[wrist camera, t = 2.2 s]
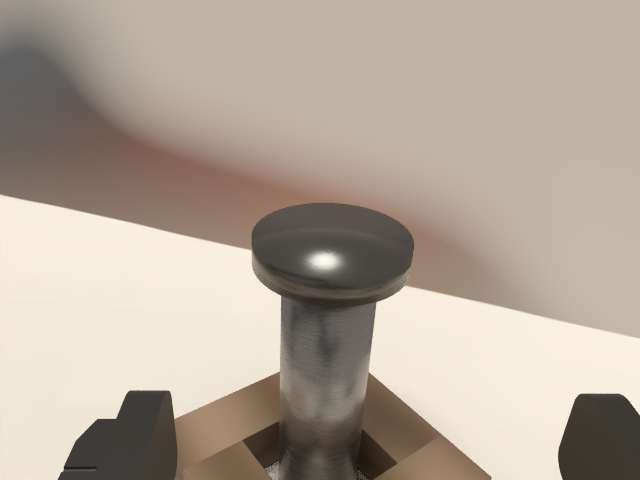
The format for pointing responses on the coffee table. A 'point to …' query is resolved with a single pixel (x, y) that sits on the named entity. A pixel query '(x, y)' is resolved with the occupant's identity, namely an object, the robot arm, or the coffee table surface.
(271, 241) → the peg
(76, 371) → the coffee table surface
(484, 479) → the collar
